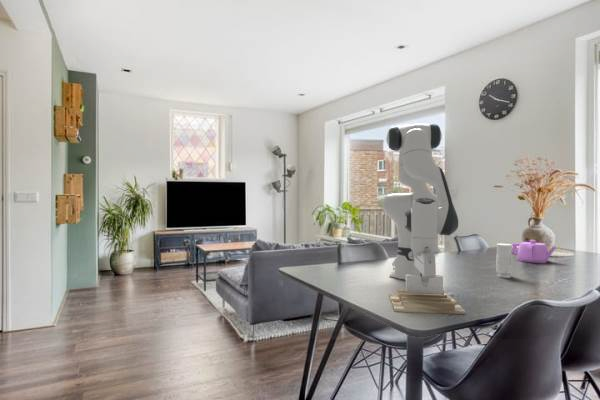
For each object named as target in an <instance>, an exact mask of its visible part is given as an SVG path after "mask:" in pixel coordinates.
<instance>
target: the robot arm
mask: <svg viewBox="0 0 600 400" xmlns="http://www.w3.org/2000/svg"><path fill="white" fill-rule="evenodd" d="M387 131H388V132H387V134H386V144H387V146H388V149H390V150H391V151H396V152H398V151H399V153H398V154H399V155H398V180H399V182H400V183H401V184H402V185H403V186H405V187H408V188H410V189H411V190H412V192H396V193H390V194H386V195H385V196H384V198H383V200H382V203H381V207H382V211H383V212H384V214H385V215H386V216H388V217H389V218H390V219H391V220H392V222H393V223H394V225H395V227H396V230H397V238H398V239H397V243H398V244H397V245H398V246H397V249H396V254H397V255H396V256H395V258H394V259H393V260H392V263H391V265H392V269H391V272H390V273H389V277H390V278H395V279H399V280H404V281H406V274H414V275H422V277H423V281H422V286H423V287H428V282H429V278H435V276H436V275H437V273H436V272H437V269H436V268H437V267H436V255H435V253H436V252H438V251H439V236H440V235H441V236H451V235H452V234H454V233H455V232H456V231H457V230H458V227H459V217H458V214H457V211H456V209H455V206H454V203H453V200H452V196H451V192H450V189H449V184H448V181H447V178H446V174H445V173H444V170H443V168H442V167H439V166H438V165H437V164H436V162H435V160H434V159H433V158H434V157H433V153H432V152H433V151H432V150H434V149H436V148H437V147H439V146H440V144H441V141H442V138H443V137H442V136H443V134H442V130H441V127H440V126H439V125H438V124H435V123H413V124H403V125H394V126H391V127H390V128H389V129H388V130H387ZM427 184H429V185H430V186H432V187H433V189H434V190H435V193H436V194H435V193H433V191H431V190H430V188H429V187H428V185H427Z"/></svg>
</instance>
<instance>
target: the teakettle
mask: <svg viewBox="0 0 600 400" xmlns="http://www.w3.org/2000/svg"><path fill="white" fill-rule="evenodd" d="M512 245H513V246H512V254H514V255H516V256H517V259H518V262H524V263H534V264H546V263H547V262H548V259H549V258H550V257H551V255H552V254H553V253H554V252H555V251H556V250H557V246H552V247H551V248H550V249H548V247H547V244H546V243H542V242H537V240H536V239H529V241H522V242H513V243H512ZM517 247H518V250H517Z"/></svg>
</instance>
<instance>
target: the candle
mask: <svg viewBox="0 0 600 400" xmlns="http://www.w3.org/2000/svg"><path fill="white" fill-rule="evenodd" d="M495 245H496V255H495V256H496V258H495V262H496V263H495V264H496V269H495V272H496V273H497V275H496V276H497V277H499V278H504V279H505V278H506V279H509V278H512V275H511V274H513V266H514V257H513V252H512V248H513V243H512V244H511V243H496V244H495Z"/></svg>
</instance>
